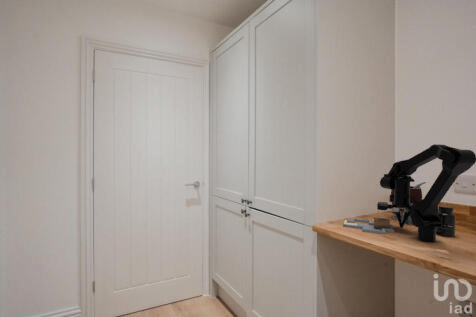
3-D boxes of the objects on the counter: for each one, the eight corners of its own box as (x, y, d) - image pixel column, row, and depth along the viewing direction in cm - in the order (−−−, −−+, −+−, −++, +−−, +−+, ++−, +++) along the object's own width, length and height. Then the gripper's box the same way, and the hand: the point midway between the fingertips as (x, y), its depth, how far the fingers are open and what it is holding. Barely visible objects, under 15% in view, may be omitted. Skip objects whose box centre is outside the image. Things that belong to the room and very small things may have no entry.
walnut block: (389, 230, 116) (389, 221, 116) (374, 228, 119) (374, 219, 119) (388, 227, 121) (389, 218, 121) (373, 226, 123) (374, 217, 123)
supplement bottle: (446, 237, 111) (447, 208, 110) (430, 233, 117) (431, 205, 117) (459, 236, 112) (460, 207, 112) (443, 231, 119) (443, 204, 119)
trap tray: (391, 226, 127) (391, 222, 126) (395, 238, 109) (395, 233, 109) (345, 221, 135) (345, 217, 135) (342, 231, 118) (342, 226, 118)
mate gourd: (394, 221, 137) (394, 182, 137) (387, 215, 150) (388, 179, 150) (429, 224, 132) (430, 183, 132) (420, 217, 146) (420, 180, 145)
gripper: (424, 190, 119) (424, 225, 120) (377, 188, 128) (376, 220, 128) (429, 194, 109) (428, 232, 110) (377, 190, 118) (377, 226, 118)
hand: (401, 227), depth 117 cm, fingers closed
